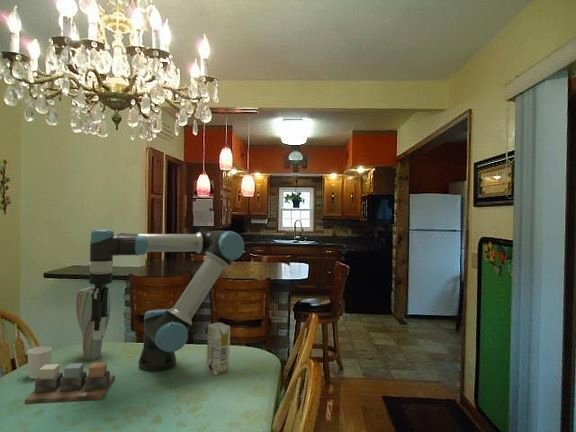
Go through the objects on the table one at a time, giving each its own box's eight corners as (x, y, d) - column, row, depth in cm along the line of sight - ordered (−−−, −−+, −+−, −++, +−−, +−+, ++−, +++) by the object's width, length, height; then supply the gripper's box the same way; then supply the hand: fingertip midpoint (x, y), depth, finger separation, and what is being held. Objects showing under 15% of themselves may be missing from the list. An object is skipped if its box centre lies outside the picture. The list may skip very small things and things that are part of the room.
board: (115, 378, 155) (115, 364, 155) (102, 399, 137) (103, 384, 137) (46, 381, 150) (47, 367, 150) (24, 403, 133) (25, 387, 133)
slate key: (83, 376, 146) (83, 363, 146) (78, 382, 142) (79, 368, 142) (68, 377, 146) (69, 363, 146) (63, 382, 141) (64, 368, 141)
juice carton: (215, 376, 159) (216, 328, 159) (204, 370, 166) (205, 323, 166) (231, 372, 164) (232, 325, 164) (220, 366, 171) (221, 321, 171)
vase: (100, 363, 170) (102, 292, 170) (68, 362, 170) (70, 291, 170) (114, 352, 183) (116, 286, 183) (84, 351, 183) (86, 286, 184)
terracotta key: (106, 375, 148) (106, 362, 148) (103, 381, 143) (103, 367, 143) (92, 376, 147) (92, 362, 147) (88, 381, 142) (88, 367, 142)
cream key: (59, 377, 145) (59, 364, 145) (54, 383, 140) (54, 369, 140) (44, 378, 144) (45, 364, 144) (38, 384, 139) (39, 369, 139)
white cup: (39, 380, 151) (40, 354, 151) (21, 378, 152) (22, 352, 152) (55, 373, 158) (56, 347, 158) (38, 371, 160) (39, 345, 160)
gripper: (96, 269, 153) (94, 330, 153) (82, 275, 136) (80, 345, 136) (117, 269, 155) (115, 330, 154) (105, 275, 138) (103, 344, 137)
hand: (99, 337), depth 145 cm, fingers open, 4 cm apart
